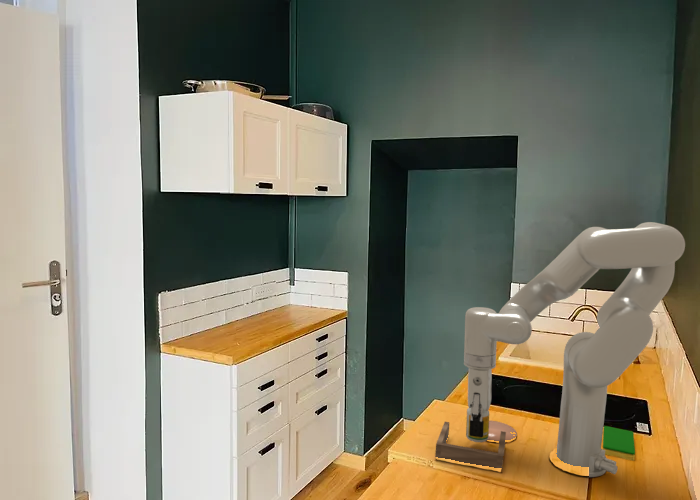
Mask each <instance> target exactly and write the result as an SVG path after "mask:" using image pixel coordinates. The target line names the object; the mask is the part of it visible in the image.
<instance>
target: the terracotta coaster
mask: <svg viewBox="0 0 700 500" xmlns="http://www.w3.org/2000/svg"><path fill="white" fill-rule="evenodd" d="M501 431H503V432H506V437H505V440H511V439H513V438H515V437H516V436H517V435H518V433H517V430H516V429H515V428H514V427H512V426H511V425H510V424H507V423H505V422H500V421H497V420H490V419H489V435H488V440H494V441H500V434H501ZM510 432H512V433H513V432H515V433H516V434H511V433H510ZM513 435H515V436H513ZM517 437H518V436H517Z"/></svg>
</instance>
